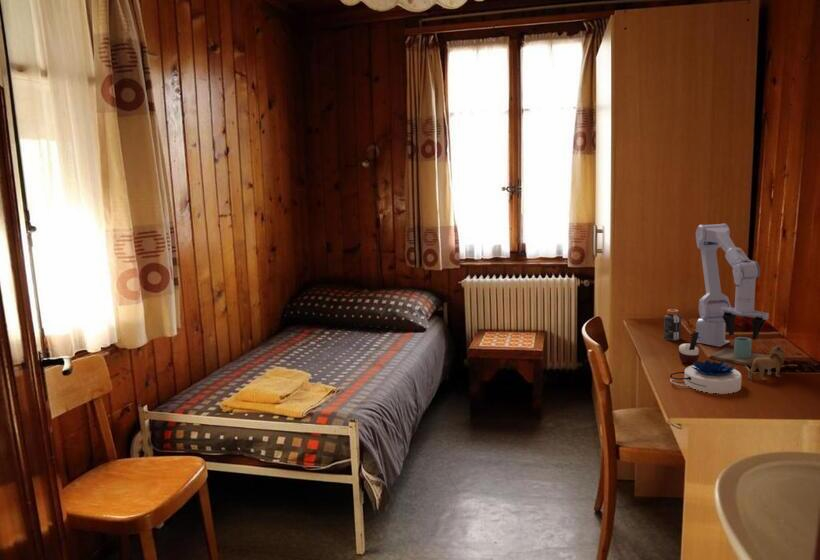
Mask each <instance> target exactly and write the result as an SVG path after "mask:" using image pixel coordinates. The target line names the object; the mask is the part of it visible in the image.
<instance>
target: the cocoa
mask: <svg viewBox="0 0 820 560" xmlns="http://www.w3.org/2000/svg"><path fill="white" fill-rule="evenodd" d="M692 333H693V334H692V337H691V340H690V343H681V344H680V345H679V346H678V355H679V360H680V361H681V362H684V364H685V365H686V364H687V365H693V364H694V363H693V362H695V363H697V361H699V358H700V349H699V347H698V346H696V345H697V338H698V334H699V333H698V332H696V331H695V332H692ZM694 365H695V364H694Z"/></svg>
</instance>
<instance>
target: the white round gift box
mask: <svg viewBox="0 0 820 560" xmlns="http://www.w3.org/2000/svg"><path fill="white" fill-rule="evenodd" d="M693 363H694V364H691V365H689V366H687V367H686V368H685V369H684V371H678V372H673V373H671V374H670V376H669V377H670V379H669V381H670V382H671V383H672V384H674V385H677V386H681V387H688V386H689V387H691V388H693V389H692V390H694V389H696V390H695V391H697V390H699V391H698V392H700V391H703V392H702V393H705V392H708V393H707V394H713V393H717V394H716V395H725V394H726V395H727V394H728V393H729V394H733V392H734V393H736V392H739V391H740V390H741V389H742V377H743V376H742V373H741V372H740V371H739V370H737V369H736V368H737V366H732V367H731V364H726V363H727V362H726V361H723V362H722V361H720V362H717V361H716V360H714V361H710V360H709V359H706V360H705V361H704V362H702V361H701V360H698V361H697V362H696V363H695V362H693ZM677 374H683V375H684V378H682V377H681V378H679V377H677V378H676V377H673V376H674V375H677ZM673 380H679V381H683V383H684V382H685V383H684V384H683V383H682V384H681V383H677V382H674V381H673ZM685 384H686V385H685ZM689 387H688V388H689ZM691 388H690V389H691ZM718 393H719V394H718Z"/></svg>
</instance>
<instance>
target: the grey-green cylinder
mask: <svg viewBox="0 0 820 560" xmlns="http://www.w3.org/2000/svg"><path fill="white" fill-rule="evenodd" d="M733 341H734V342H733V343H734V344H733V349H734V356H735V357H737V358H750V357H751V352H752V341H753V339H752V338H750V337H745V336H744V337H743V336H738V337H737V336H736V337H734V339H733Z"/></svg>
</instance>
